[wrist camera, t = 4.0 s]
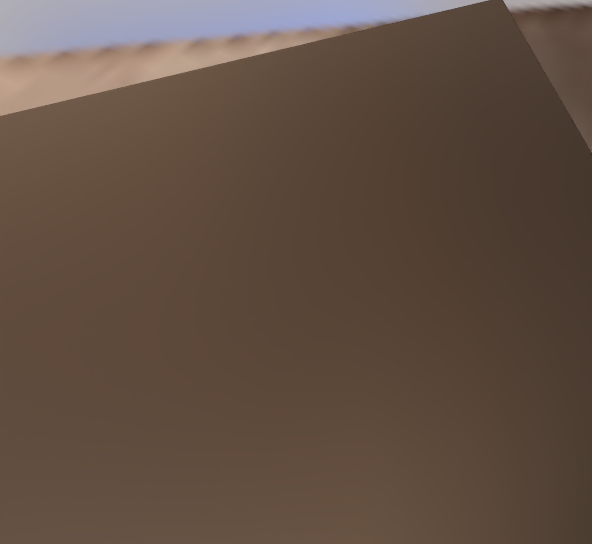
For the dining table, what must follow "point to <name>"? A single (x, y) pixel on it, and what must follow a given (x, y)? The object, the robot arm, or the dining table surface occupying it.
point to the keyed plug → (302, 300)
